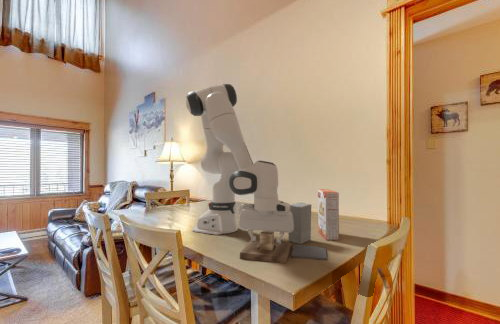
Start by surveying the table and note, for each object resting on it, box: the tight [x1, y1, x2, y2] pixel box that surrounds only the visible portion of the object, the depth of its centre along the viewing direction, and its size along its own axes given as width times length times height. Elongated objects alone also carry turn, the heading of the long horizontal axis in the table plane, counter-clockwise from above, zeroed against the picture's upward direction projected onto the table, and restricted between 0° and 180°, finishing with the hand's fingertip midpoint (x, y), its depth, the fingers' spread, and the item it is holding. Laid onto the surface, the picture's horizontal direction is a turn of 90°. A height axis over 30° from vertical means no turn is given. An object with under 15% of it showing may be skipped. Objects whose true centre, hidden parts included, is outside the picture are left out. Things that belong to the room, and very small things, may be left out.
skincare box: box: [287, 202, 312, 245], centre depth 106 cm, size 8×7×16 cm
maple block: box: [259, 230, 275, 251], centre depth 91 cm, size 4×4×8 cm
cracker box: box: [317, 188, 340, 241], centre depth 114 cm, size 14×6×21 cm, turn 178°
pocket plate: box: [239, 239, 292, 264], centre depth 91 cm, size 16×16×2 cm
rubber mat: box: [291, 244, 328, 261], centre depth 91 cm, size 12×12×1 cm
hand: (266, 242), depth 91 cm, fingers open, 8 cm apart
